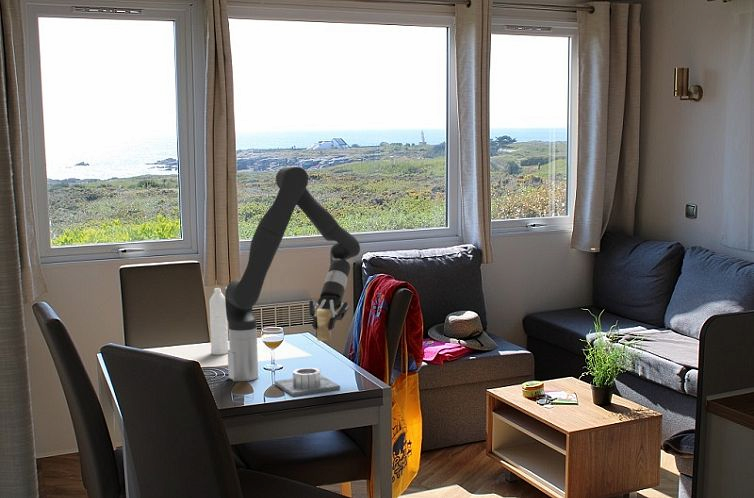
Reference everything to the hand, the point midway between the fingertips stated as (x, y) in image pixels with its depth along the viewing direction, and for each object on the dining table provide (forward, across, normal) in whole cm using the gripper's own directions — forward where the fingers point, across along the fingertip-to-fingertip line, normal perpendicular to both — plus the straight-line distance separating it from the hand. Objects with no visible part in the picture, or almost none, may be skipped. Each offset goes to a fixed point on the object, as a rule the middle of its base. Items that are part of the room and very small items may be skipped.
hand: (322, 328), depth 285 cm
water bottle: (-8, -52, +34) cm, 62 cm away
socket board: (+18, -2, +7) cm, 20 cm away
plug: (+2, 0, +4) cm, 5 cm away
